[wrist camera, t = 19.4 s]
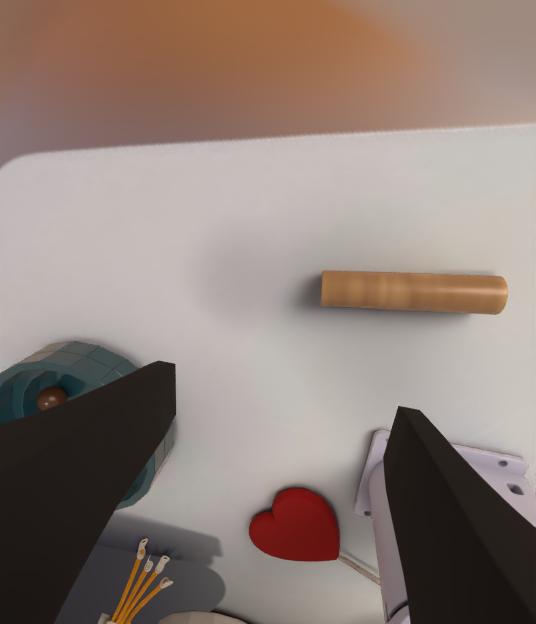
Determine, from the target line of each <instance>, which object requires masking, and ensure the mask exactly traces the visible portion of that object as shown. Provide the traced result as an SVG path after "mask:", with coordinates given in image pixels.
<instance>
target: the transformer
mask: <svg viewBox="0 0 536 624" xmlns="http://www.w3.org/2000/svg"><path fill="white" fill-rule="evenodd" d="M145 540H146V541H145ZM143 541H145V542H144V543H142V542H143ZM147 541H148V539H147V538H146V539H143V540H142V541H141V542H140V544H139V549H138V554H137V560H136V562H135V565H134V568H133V570H132V573H131V576H130V578H129V581H128V583H127V586H126V588H125V591H124V593H123V596H122V598H121V600H120V602H119V605H118V607H117V609H116V611H115V613H114V615H113V616H110V615H107V614H104V613H102V615H101V617H100V620H99V622H98V624H132V623H130V622H131V620H132V619H133V617H134V616H135V615H136V614H137V612H138V611H139V610H140V609H141V608H142V607H143V606H144V605H145V604H146V603H147V602H148V601H149V600H150V599H151V598H152V597H153V596H154V595H155V594H156V593H158V592H159V591H160V590H161V589H162V588H165V587H167V586H169V585H171V584H172V583H173V581H169V579H168V578H167V577H166V578H163V579H162V580H161V582H160V584H159V585H158V586H157V587H156V588H155V589H154V590H153V591H152V592H151V593H150V594H149V595H148V596H147V597H146V598H145V599H144V600H143V601H141V603H140V604H139V605H138V606H137V607H136V608H135V609H134V611H133V612H132V613H131V614H130V616H129V617H128V619H127V620H126V618H127V616H128V615H129V613H130V612H131V610H132V609H133V607H134V606H135V605H136V603H137V602H138V600H139V599H140V598H141V596H142V595H143V593H144V592H145V591H146V589H147V588H148V587H149V585H150V584H151V582H152V581H153V580H154V579H155V577H156V576H157V575H158V574H159V573H161V571H162V570H163V569H164V565H165V563H167V562H168V561H169V557H167V556H162V557H161V559H160V562H159V563H158V565H157V566H156V567H155V571H154V572H153V574H152V575H151V576H150V578H149V579H148V580H147V582H146V583H145V584H144V586H143V587H142V589H141V590H140V591H139V593H138V594H137V596H136V597H135V598H134V596H135V594H136V592H137V591H138V589H139V587H140V585H141V583H142V582H143V580H144V578H145V576H146V575H147V573H148V571H150V570H151V568H152V566H153V562H152V561H149V558H150V556H151V554H150V556H149V558H148V561H147V563H146V564H145V566H144V570H143V572H142V574H141V576H140V577H139V579H138V581H137V583H136V585H135V586H134V588H133V590H132V592H131V594H130V595H129V598H128V599H127V601H126V603H125V605H124V607H123V609H122V610H121V608H122V606H123V603H124V601H125V599H126V596H127V594H128V592H129V589H130V587H131V585H132V582H133V580H134V577H135V575H136V572H137V570H138V567H139V564H140V562H141V559H143V558H144V556H145V553H146V550H145V548H144V547H145V545H146V543H147ZM164 557H165V558H167V559H164ZM133 598H134V600H133ZM132 600H133V602H132V603H131V601H132ZM130 603H131V604H130ZM129 605H130V606H129ZM127 608H128V609H127ZM120 610H121V612H120ZM119 612H120V614H119ZM118 614H119V616H118ZM117 616H118V618H117ZM125 620H126V621H125Z"/></svg>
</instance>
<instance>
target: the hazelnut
mask: <svg viewBox="0 0 536 624" xmlns="http://www.w3.org/2000/svg"><path fill="white" fill-rule="evenodd" d="M67 400H68V395H67V393H66V391H65V390H64V389H63V388H61V387H59V386H50V387H47V388H45V389H43V390H42V391H41V392H40V393H39V394H38V396H37V399H36V404H37V406H38V408H39V409H40V410H41V411H43V410H46V409H48V408H51V407H54V406H56V405H59V404H62V403H64V402H67Z"/></svg>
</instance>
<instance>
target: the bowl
mask: <svg viewBox="0 0 536 624" xmlns="http://www.w3.org/2000/svg"><path fill="white" fill-rule="evenodd" d="M136 370H138V368H136V367H135V366H134V365H133V364H132V363H130V362H129V361H128V360H127V359H125V358H123V357H121V356H119V355H117V354H115V353H113V352H111V351H109V350H107V349H105V348H103V347H100V346H97V345H92V344H86V343H81V342H76V341H74V342H65V343H58V344H51V345H49V346H47V347H45V348H43V349H42V350H40V351H38V352H36V353H34V354H33V355H31V356H29V357H27V358H25V359H24V360H22V361H20V362H18V363H17V364H15V365H13V366H12V367H10V368H8V369H7V370H5V371H3V372H2V373H0V424H2V423H6V422H9V421H13V420H16V419H19V418H22V417H25V416H28V415H31V414H34V413H37V412H40V411H41V410H40V409H39V408H38V406H37V404H36V399H37V396H38V394H39V393H40V392H41V391H42V390H43V389H45V388H47V387H50V386H59V387H61V388H63V389H64V390H65V391H66V393H67V395H68V400H67V401H69V400H71V399H74V398H76V397H79V396H81V395H83V394H86V393H88V392H90V391H93V390H95V389H97V388H100V387H102V386H104V385H106V384H108V383H110V382H113V381H115V380H117V379H119V378H121V377H123V376H125V375H127V374H130V373H132V372H134V371H136ZM173 444H174V423H173V421H172V423H171V425H170V427H169V429H168V431H167V432H166V434H165V436H164V438H163V440H162V442H161V443H160V445H159V446H158V448H157V449H156V451H155V452H154V454H153V455H152V457H151V458H150V459H149V461H148V462H147V464H146V465H145V467H144V468H143V470H142V471H141V473H140V474H139V475H138V477H137V478H136V480H135V481H134V483H133V484H132V486H131V487H130V489H129V490H128V491H127V493H126V494H125V496H124V497H123V499H122V500H121V502H120V503H119V505H118V506H117V508H116V509H115V510H119V509H122V508H125V507H128V506H131V505H134V504H135V503H136V502H137V501H139V500H140V499H141V498H142V497H143V496H144V495H146V494H147V493H148V492H149V490H150V488H151V487H152V485H153V483H154V482H155V480H156V478H157V477H158V475H159V473H160V472H161V470H162V468H163V467H164V465H165V463H166V462H167V459H168V457H169V455H170V452H171V450H172V447H173Z"/></svg>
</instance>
